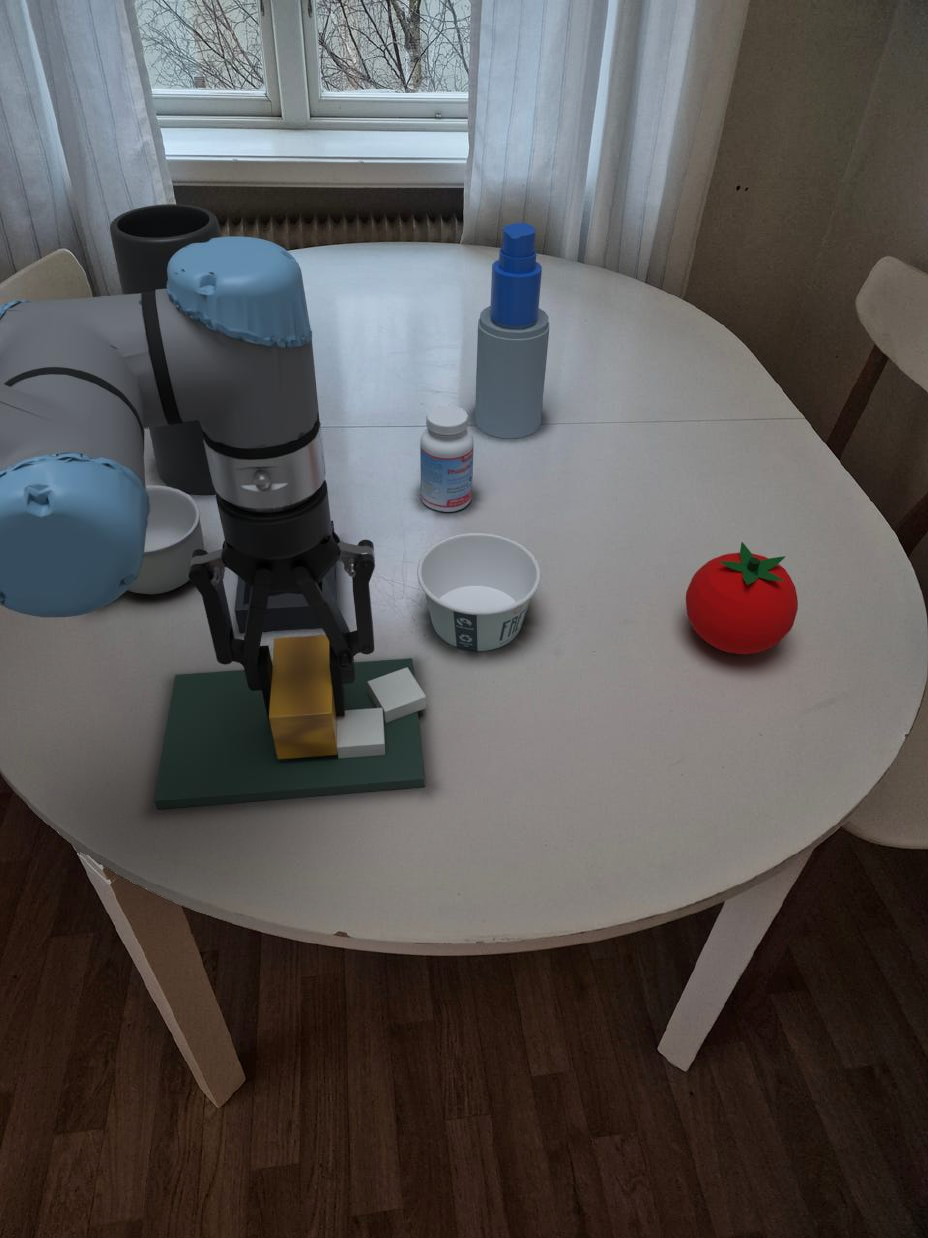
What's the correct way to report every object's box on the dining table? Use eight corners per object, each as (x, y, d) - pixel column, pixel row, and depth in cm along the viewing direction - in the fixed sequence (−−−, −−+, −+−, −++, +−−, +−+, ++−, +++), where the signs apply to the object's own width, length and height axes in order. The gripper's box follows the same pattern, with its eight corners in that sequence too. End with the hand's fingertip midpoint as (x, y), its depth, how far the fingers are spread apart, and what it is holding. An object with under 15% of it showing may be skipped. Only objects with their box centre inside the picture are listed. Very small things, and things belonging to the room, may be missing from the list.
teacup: (184, 531, 97) (168, 471, 92) (231, 580, 91) (217, 520, 86) (62, 581, 91) (37, 520, 85) (104, 638, 85) (80, 577, 79)
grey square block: (338, 758, 73) (336, 747, 72) (338, 722, 76) (336, 710, 75) (385, 755, 74) (384, 743, 72) (383, 719, 76) (382, 707, 75)
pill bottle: (456, 519, 100) (457, 435, 92) (411, 503, 102) (409, 419, 94) (480, 493, 104) (484, 410, 96) (437, 478, 106) (437, 396, 98)
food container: (440, 570, 93) (440, 521, 89) (547, 594, 91) (553, 546, 86) (400, 645, 85) (398, 595, 80) (518, 674, 82) (523, 624, 78)
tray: (239, 633, 86) (234, 610, 83) (248, 547, 95) (243, 524, 93) (336, 626, 86) (334, 604, 84) (335, 542, 96) (333, 520, 94)
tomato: (658, 614, 89) (677, 537, 82) (745, 593, 91) (770, 517, 84) (711, 686, 82) (736, 609, 75) (804, 661, 84) (836, 584, 77)
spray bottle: (494, 397, 120) (504, 209, 103) (552, 415, 117) (571, 224, 100) (462, 426, 115) (466, 232, 97) (521, 445, 111) (536, 248, 94)
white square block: (385, 723, 76) (385, 711, 75) (368, 693, 79) (367, 681, 77) (426, 708, 77) (426, 696, 76) (407, 678, 80) (407, 666, 79)
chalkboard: (157, 809, 71) (153, 801, 70) (178, 683, 81) (175, 674, 80) (424, 787, 73) (424, 778, 72) (412, 666, 83) (412, 658, 82)
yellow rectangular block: (277, 759, 72) (268, 717, 68) (281, 680, 78) (273, 637, 75) (337, 755, 73) (332, 713, 69) (337, 676, 79) (332, 634, 75)
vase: (275, 432, 112) (240, 197, 92) (264, 493, 103) (222, 245, 83) (168, 434, 112) (110, 197, 92) (147, 496, 102) (77, 246, 82)
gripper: (124, 524, 55) (195, 750, 71) (407, 509, 57) (414, 732, 73) (142, 459, 60) (205, 682, 76) (400, 447, 62) (408, 668, 78)
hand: (306, 706), depth 74 cm, fingers closed on yellow rectangular block, 5 cm apart
